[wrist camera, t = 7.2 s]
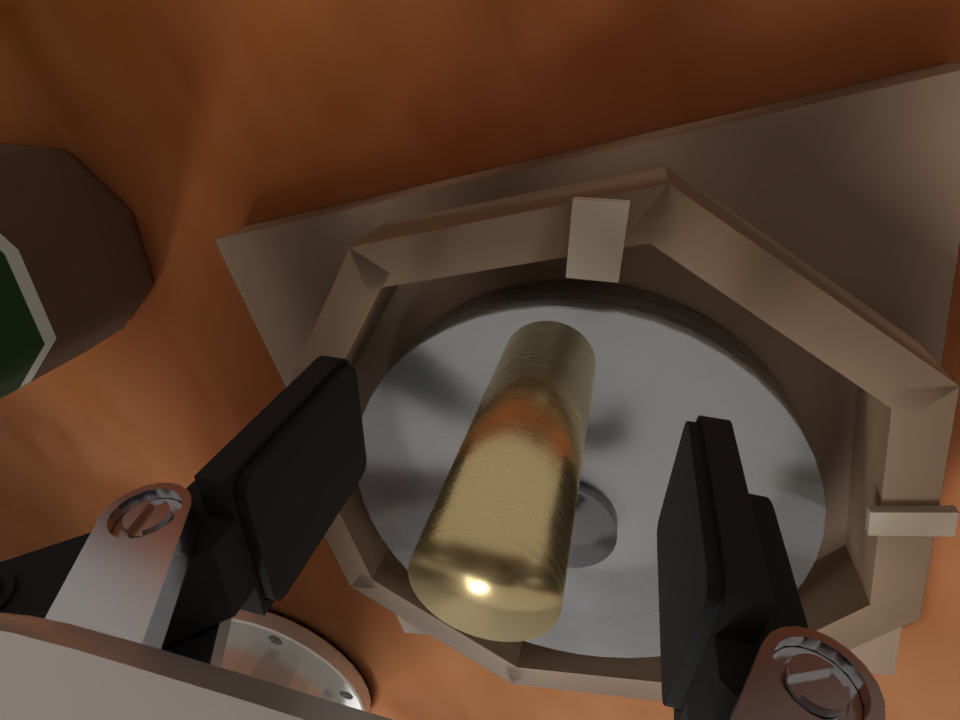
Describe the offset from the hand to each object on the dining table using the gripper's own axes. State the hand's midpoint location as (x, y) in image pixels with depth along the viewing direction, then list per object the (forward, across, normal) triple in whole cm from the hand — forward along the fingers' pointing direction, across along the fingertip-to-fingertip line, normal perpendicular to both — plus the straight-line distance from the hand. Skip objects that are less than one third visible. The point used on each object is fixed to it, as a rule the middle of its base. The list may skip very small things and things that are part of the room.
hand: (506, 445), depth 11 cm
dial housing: (+7, -1, +5) cm, 9 cm away
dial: (+5, -1, +5) cm, 8 cm away
